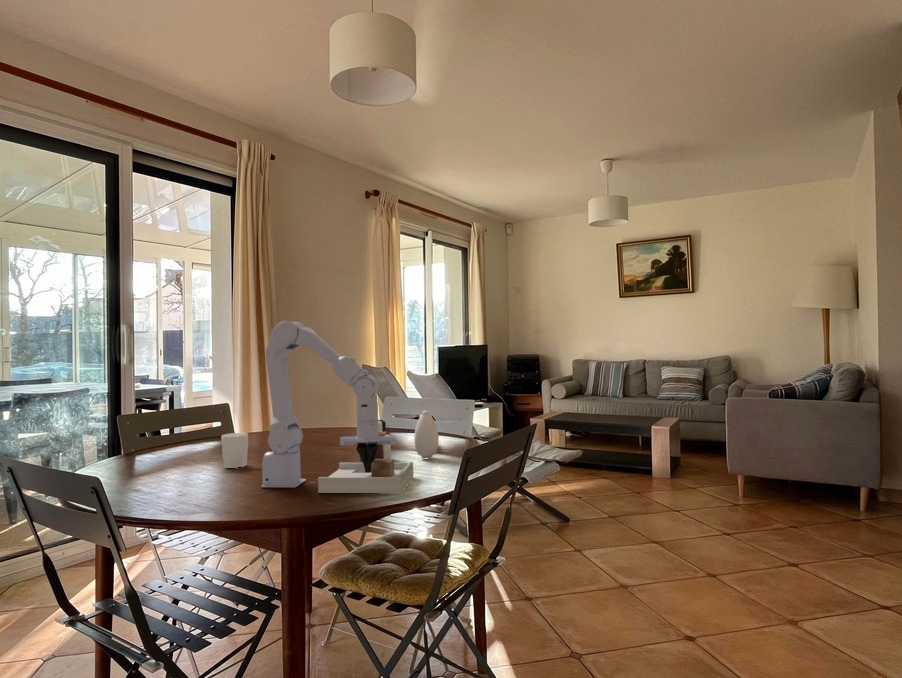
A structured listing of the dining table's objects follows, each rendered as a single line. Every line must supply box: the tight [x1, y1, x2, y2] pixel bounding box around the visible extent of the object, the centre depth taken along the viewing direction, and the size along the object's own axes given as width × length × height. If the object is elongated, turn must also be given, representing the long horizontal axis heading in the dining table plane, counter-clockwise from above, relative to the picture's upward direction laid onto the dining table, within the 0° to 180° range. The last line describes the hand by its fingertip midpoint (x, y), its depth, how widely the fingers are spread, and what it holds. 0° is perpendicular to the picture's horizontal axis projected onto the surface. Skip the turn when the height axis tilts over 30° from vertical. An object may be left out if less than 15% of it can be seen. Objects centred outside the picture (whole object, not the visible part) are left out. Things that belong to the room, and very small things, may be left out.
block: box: [371, 458, 395, 477], centre depth 149 cm, size 5×5×4 cm
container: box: [378, 419, 392, 459], centre depth 181 cm, size 8×8×13 cm
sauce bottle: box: [413, 403, 440, 459], centre depth 182 cm, size 8×8×18 cm
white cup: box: [220, 432, 249, 469], centre depth 177 cm, size 8×8×10 cm
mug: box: [359, 431, 387, 463], centre depth 170 cm, size 12×9×10 cm
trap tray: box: [317, 461, 414, 495], centre depth 149 cm, size 21×18×4 cm
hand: (368, 471), depth 149 cm, fingers closed
